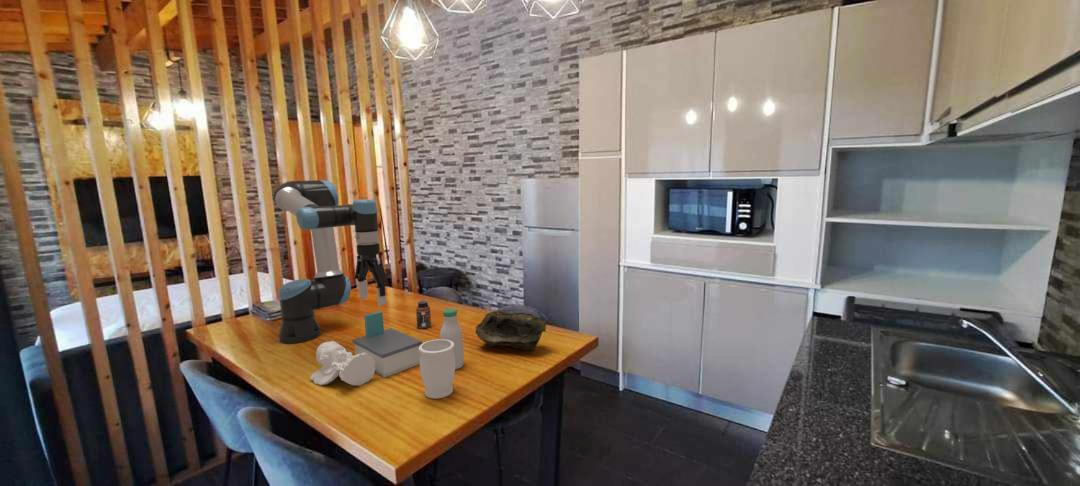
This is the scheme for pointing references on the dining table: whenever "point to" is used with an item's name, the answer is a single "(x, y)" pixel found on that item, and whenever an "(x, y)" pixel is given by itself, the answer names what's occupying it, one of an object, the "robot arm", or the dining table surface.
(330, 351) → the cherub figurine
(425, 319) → the supplement bottle
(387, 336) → the lid
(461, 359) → the milk bottle
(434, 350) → the jar
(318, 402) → the dining table surface
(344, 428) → the dining table surface
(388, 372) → the tub
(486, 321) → the hollow geode rock
